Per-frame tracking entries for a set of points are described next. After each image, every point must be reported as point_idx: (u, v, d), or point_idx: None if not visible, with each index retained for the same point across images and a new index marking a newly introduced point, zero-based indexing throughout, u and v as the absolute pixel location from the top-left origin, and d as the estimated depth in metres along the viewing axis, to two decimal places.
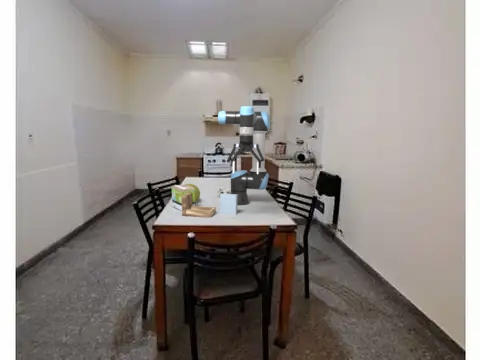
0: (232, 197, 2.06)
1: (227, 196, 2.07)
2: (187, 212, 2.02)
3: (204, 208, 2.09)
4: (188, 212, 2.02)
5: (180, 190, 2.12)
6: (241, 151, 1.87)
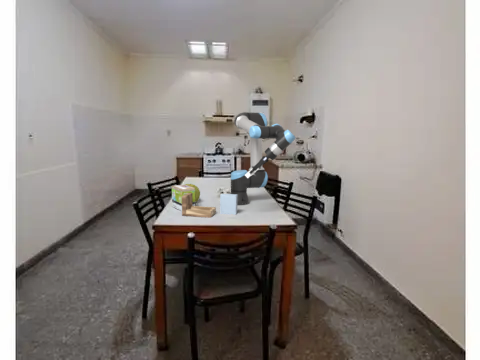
0: (232, 197, 2.06)
1: (227, 196, 2.07)
2: (187, 212, 2.02)
3: (204, 208, 2.09)
4: (188, 212, 2.02)
5: (180, 190, 2.12)
6: None
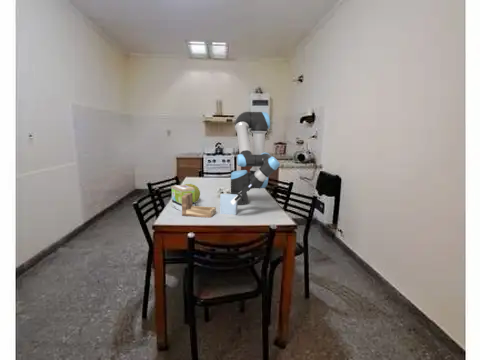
0: (232, 197, 2.06)
1: (227, 196, 2.07)
2: (187, 212, 2.02)
3: (204, 208, 2.09)
4: (188, 212, 2.02)
5: (180, 190, 2.12)
6: (245, 187, 2.02)
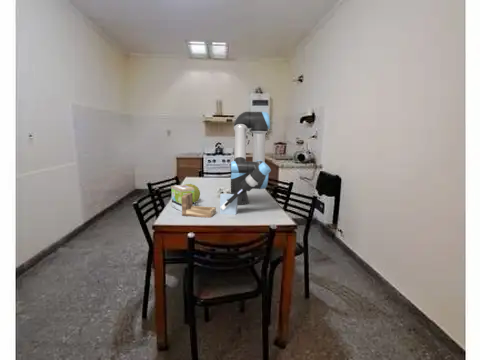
0: None
1: (227, 196, 2.07)
2: (187, 212, 2.02)
3: (204, 208, 2.09)
4: (188, 212, 2.02)
5: (179, 190, 2.12)
6: (236, 192, 2.06)
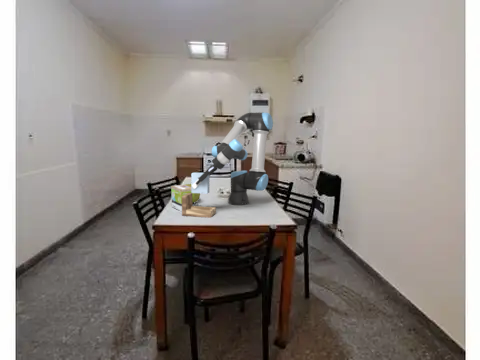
0: None
1: (198, 174, 2.01)
2: (187, 212, 2.02)
3: (204, 208, 2.09)
4: (188, 212, 2.02)
5: (179, 190, 2.12)
6: None
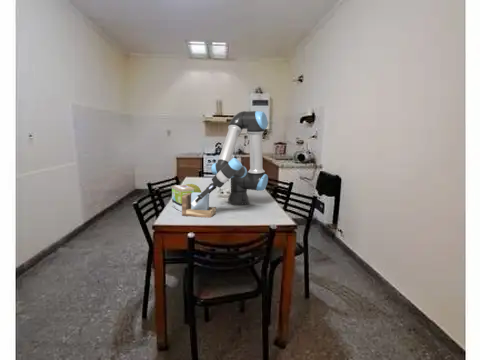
0: None
1: None
2: (187, 212, 2.02)
3: None
4: (188, 212, 2.02)
5: (179, 190, 2.12)
6: None
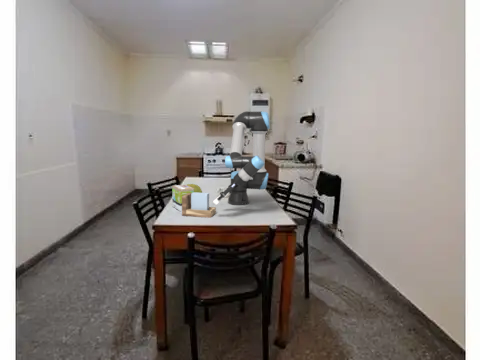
0: (203, 195, 2.02)
1: (198, 195, 2.03)
2: (187, 212, 2.02)
3: None
4: (188, 212, 2.02)
5: (179, 190, 2.12)
6: (229, 186, 1.98)
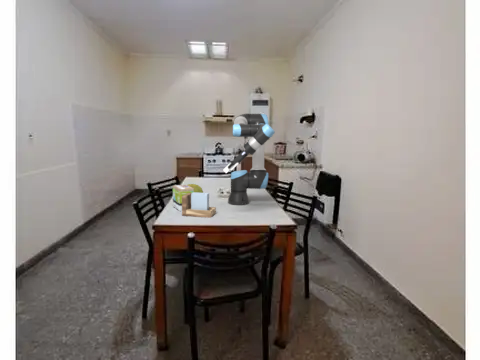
0: (203, 195, 2.02)
1: (198, 195, 2.03)
2: (187, 212, 2.02)
3: None
4: (188, 212, 2.02)
5: (178, 190, 2.12)
6: None
